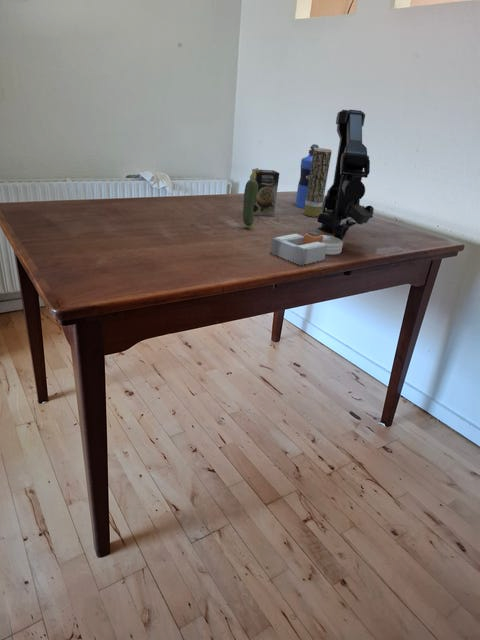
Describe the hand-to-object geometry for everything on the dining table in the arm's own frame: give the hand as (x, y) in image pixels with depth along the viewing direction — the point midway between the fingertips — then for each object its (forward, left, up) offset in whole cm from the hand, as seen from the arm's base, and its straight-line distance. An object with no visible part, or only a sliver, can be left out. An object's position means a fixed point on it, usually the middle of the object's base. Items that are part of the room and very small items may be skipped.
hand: (338, 243), depth 145 cm
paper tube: (-32, +25, -2) cm, 41 cm away
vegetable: (-29, -13, -2) cm, 32 cm away
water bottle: (-44, +35, -2) cm, 56 cm away
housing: (0, -20, -1) cm, 20 cm away
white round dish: (0, -6, -2) cm, 6 cm away
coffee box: (-42, +6, -2) cm, 43 cm away
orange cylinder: (0, -13, -1) cm, 13 cm away
